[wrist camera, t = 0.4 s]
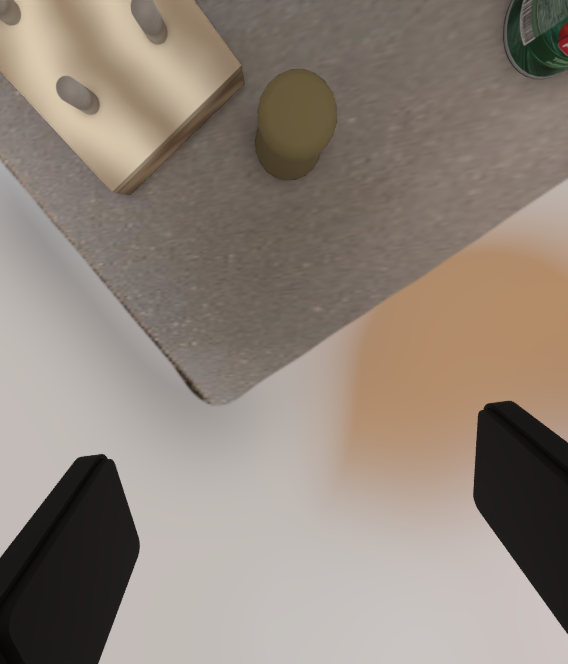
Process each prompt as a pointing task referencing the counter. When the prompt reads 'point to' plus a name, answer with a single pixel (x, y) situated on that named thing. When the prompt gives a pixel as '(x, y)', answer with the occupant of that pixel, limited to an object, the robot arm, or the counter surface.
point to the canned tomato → (537, 37)
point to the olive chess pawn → (294, 123)
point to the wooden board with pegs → (118, 77)
